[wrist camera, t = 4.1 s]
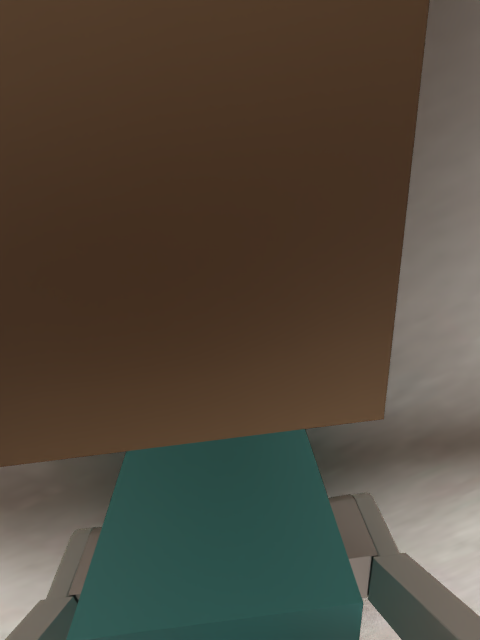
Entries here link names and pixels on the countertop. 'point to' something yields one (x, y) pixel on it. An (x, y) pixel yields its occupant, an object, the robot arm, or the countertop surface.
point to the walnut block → (199, 217)
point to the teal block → (220, 548)
